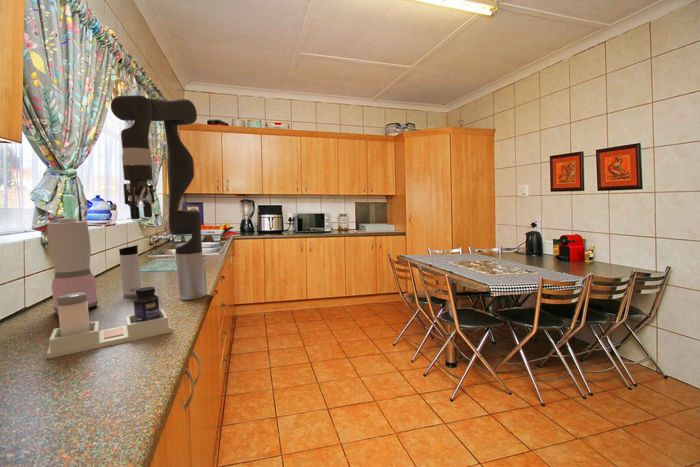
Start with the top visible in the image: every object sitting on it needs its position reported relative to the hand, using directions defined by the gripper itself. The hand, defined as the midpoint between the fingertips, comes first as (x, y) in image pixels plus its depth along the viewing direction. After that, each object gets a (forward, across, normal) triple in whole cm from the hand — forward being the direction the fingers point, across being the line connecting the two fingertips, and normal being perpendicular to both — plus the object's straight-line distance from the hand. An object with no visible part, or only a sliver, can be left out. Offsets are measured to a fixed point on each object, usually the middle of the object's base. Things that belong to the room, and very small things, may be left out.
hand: (142, 218), depth 109 cm
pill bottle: (+30, +12, +4) cm, 33 cm away
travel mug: (+33, -32, -20) cm, 50 cm away
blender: (+32, -17, -31) cm, 48 cm away
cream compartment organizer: (+32, +16, -3) cm, 35 cm away
